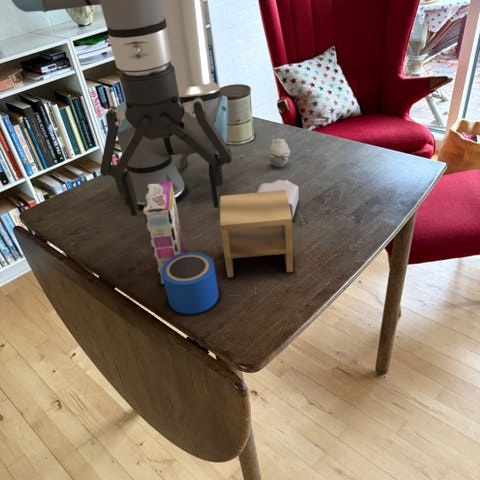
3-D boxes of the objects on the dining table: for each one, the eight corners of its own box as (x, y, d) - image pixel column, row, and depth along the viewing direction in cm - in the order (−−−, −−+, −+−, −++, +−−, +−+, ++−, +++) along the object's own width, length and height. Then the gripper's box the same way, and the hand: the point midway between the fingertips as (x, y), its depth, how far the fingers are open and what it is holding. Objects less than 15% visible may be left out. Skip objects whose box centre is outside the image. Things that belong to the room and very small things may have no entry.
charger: (302, 189, 114) (292, 221, 104) (266, 188, 116) (253, 219, 106) (302, 171, 111) (292, 202, 101) (265, 171, 113) (251, 201, 103)
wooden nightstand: (227, 246, 99) (220, 195, 91) (287, 240, 98) (285, 189, 90) (227, 277, 91) (220, 225, 83) (292, 271, 90) (291, 218, 82)
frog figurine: (290, 159, 128) (289, 134, 123) (290, 170, 123) (290, 144, 118) (268, 160, 128) (267, 135, 124) (267, 172, 123) (266, 146, 118)
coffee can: (214, 139, 143) (208, 91, 133) (239, 129, 147) (235, 81, 138) (235, 147, 137) (230, 98, 127) (261, 136, 141) (258, 87, 132)
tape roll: (171, 283, 91) (163, 254, 86) (218, 279, 91) (214, 249, 86) (166, 316, 84) (158, 286, 79) (218, 311, 84) (213, 281, 79)
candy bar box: (186, 282, 91) (169, 208, 80) (161, 285, 91) (141, 212, 80) (186, 250, 99) (172, 179, 88) (163, 253, 99) (146, 183, 88)
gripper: (46, 86, 59) (97, 227, 74) (239, 64, 58) (251, 212, 73) (61, 68, 64) (106, 203, 79) (237, 49, 63) (249, 189, 78)
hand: (175, 207), depth 76 cm, fingers open, 13 cm apart
